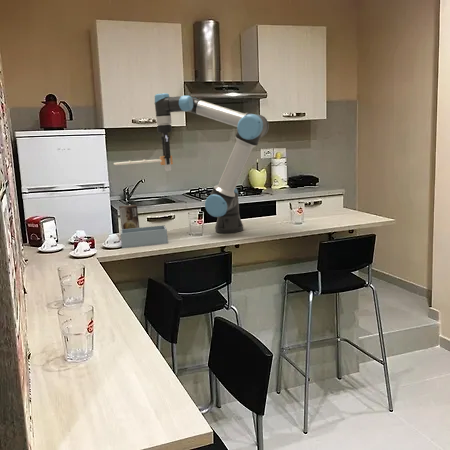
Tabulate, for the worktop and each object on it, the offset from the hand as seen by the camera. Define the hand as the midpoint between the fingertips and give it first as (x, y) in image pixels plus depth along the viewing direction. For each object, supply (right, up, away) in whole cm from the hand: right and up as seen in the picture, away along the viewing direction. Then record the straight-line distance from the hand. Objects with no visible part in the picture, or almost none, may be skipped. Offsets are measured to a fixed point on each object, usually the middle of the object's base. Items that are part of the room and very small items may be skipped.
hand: (168, 170), depth 270 cm
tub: (-10, -38, -13) cm, 42 cm away
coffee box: (-22, -34, +18) cm, 44 cm away
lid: (-12, +2, -3) cm, 13 cm away
